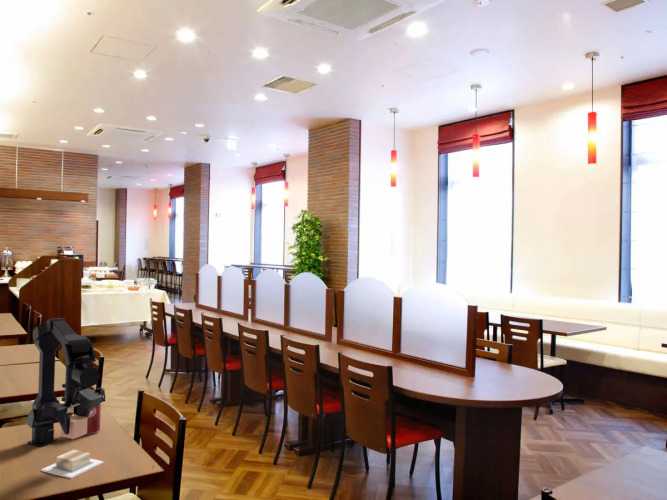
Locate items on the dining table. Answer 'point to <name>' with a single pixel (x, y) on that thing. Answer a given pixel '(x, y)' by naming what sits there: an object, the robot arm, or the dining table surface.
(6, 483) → the dining table surface
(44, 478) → the dining table surface
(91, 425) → the soda can
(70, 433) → the terracotta cube
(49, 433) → the robot arm
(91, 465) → the board
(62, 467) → the maple block
